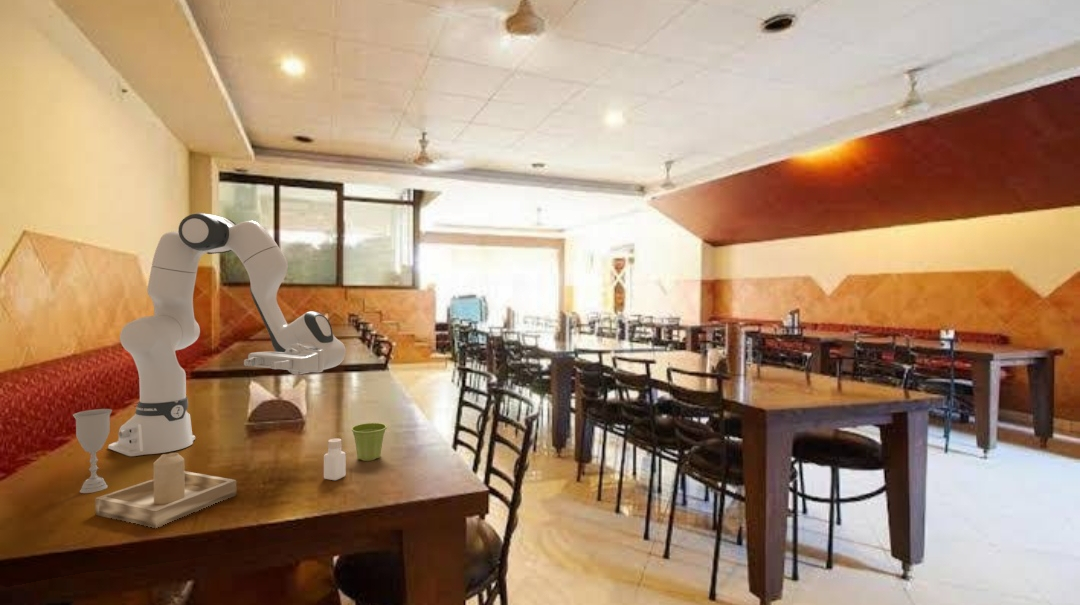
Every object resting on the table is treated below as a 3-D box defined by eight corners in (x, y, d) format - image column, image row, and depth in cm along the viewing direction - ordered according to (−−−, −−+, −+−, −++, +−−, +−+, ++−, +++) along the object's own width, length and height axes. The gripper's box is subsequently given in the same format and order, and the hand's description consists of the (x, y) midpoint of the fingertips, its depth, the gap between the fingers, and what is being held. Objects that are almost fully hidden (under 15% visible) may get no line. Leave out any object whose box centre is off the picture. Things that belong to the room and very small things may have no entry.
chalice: (93, 482, 127) (92, 408, 126) (121, 483, 126) (120, 409, 126) (65, 494, 119) (64, 416, 119) (94, 495, 119) (93, 416, 119)
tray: (95, 514, 109) (95, 498, 109) (180, 484, 126) (180, 470, 126) (155, 528, 103) (155, 511, 103) (236, 495, 120) (236, 480, 120)
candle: (168, 505, 111) (168, 459, 111) (147, 503, 112) (146, 457, 112) (190, 496, 117) (190, 451, 117) (170, 493, 118) (169, 449, 118)
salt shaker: (335, 481, 129) (335, 443, 129) (322, 479, 130) (322, 441, 130) (346, 476, 133) (346, 438, 133) (334, 474, 134) (334, 437, 134)
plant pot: (386, 461, 144) (386, 430, 144) (350, 464, 142) (350, 432, 141) (386, 451, 153) (386, 422, 153) (352, 454, 151) (352, 424, 150)
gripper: (272, 345, 155) (230, 349, 142) (328, 350, 148) (289, 355, 135) (272, 366, 155) (230, 373, 142) (327, 372, 148) (288, 379, 135)
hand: (259, 364), depth 138 cm, fingers open, 8 cm apart
